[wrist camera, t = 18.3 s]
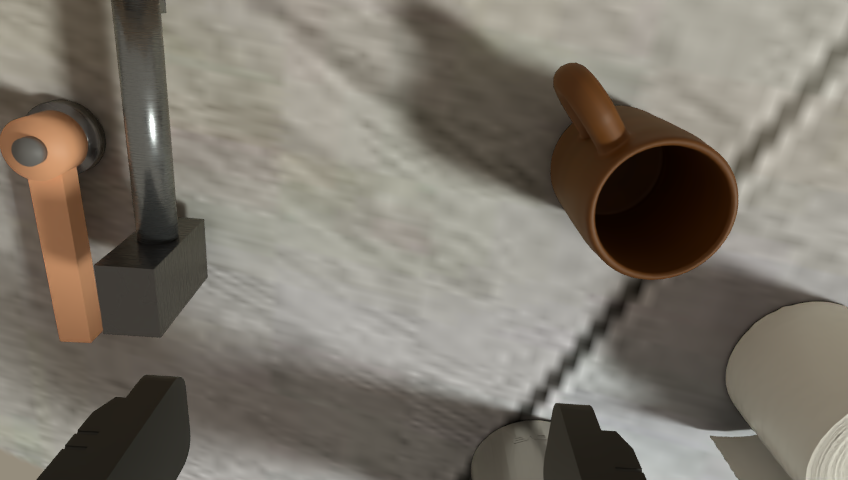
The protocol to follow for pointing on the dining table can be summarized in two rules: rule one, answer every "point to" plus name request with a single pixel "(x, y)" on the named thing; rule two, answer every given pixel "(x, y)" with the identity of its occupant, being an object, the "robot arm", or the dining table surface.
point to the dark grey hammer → (148, 192)
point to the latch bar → (58, 214)
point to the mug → (638, 183)
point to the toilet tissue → (791, 395)
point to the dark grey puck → (88, 125)
